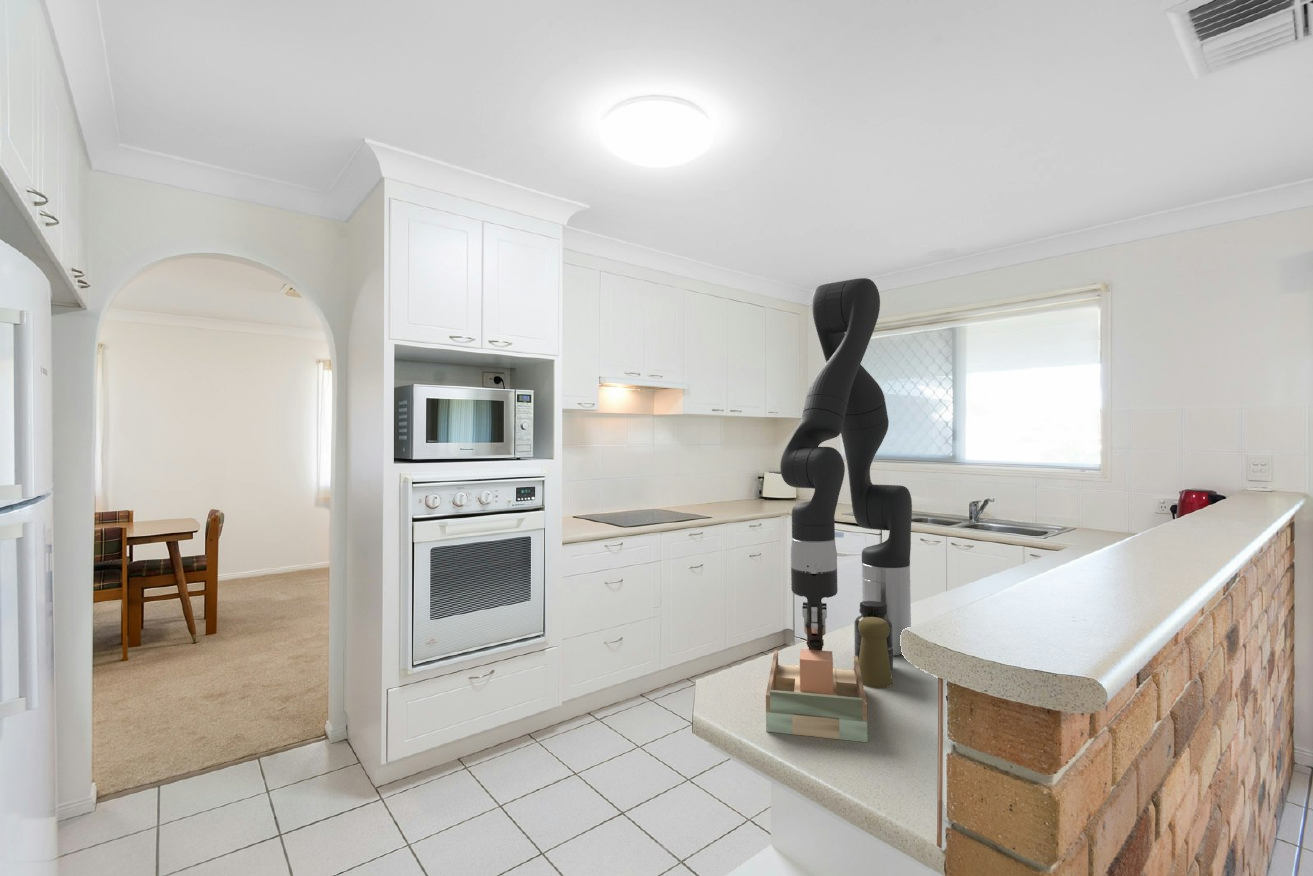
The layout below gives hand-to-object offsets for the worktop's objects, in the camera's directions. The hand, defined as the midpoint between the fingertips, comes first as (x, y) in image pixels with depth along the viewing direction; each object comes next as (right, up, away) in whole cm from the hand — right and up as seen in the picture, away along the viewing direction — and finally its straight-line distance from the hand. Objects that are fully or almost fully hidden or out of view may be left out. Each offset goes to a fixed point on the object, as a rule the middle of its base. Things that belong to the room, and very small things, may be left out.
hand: (815, 668), depth 104 cm
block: (-1, -1, -5) cm, 5 cm away
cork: (+12, -4, +5) cm, 13 cm away
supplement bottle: (+14, -4, +11) cm, 18 cm away
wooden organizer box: (-2, -4, -6) cm, 7 cm away
